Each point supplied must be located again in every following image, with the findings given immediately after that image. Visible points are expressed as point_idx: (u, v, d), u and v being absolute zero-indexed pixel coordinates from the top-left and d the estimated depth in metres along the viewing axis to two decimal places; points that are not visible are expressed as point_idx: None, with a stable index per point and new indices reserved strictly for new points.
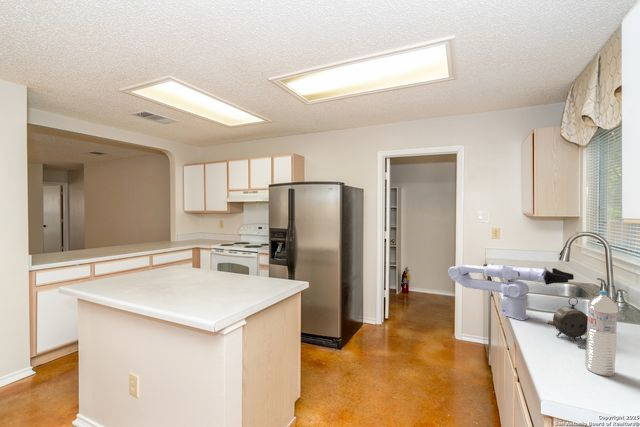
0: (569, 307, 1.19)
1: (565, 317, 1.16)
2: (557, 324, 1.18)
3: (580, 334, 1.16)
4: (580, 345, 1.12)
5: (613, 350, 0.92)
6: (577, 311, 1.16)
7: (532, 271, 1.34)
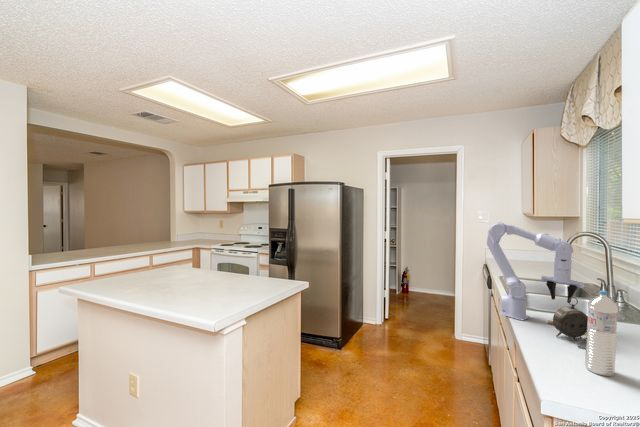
0: (569, 307, 1.19)
1: (565, 318, 1.16)
2: (557, 324, 1.18)
3: (580, 334, 1.16)
4: (580, 345, 1.12)
5: (613, 350, 0.92)
6: (577, 311, 1.16)
7: None
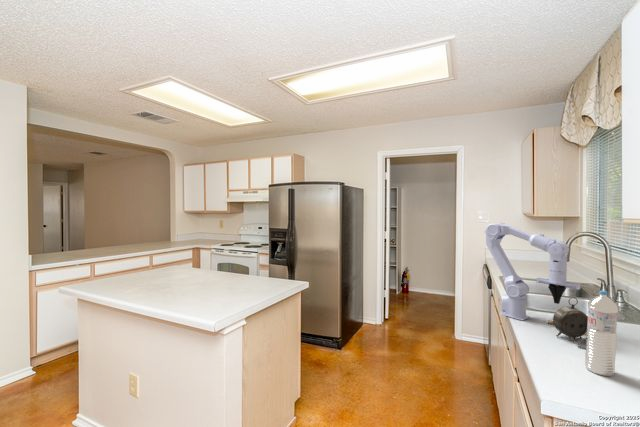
0: (569, 307, 1.19)
1: (565, 317, 1.16)
2: (557, 324, 1.18)
3: (580, 334, 1.16)
4: (580, 345, 1.12)
5: (613, 350, 0.92)
6: (577, 311, 1.16)
7: None
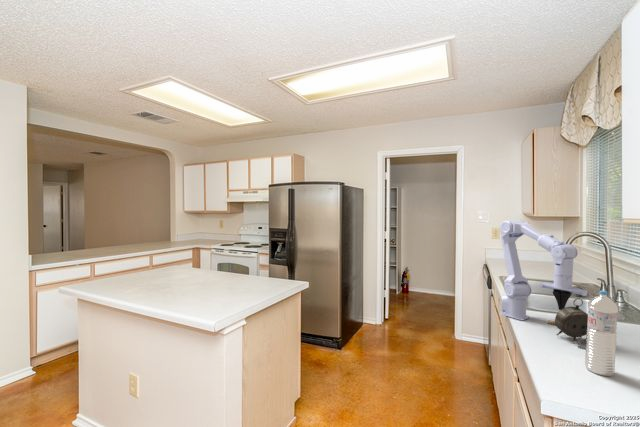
0: (573, 307, 1.18)
1: (568, 318, 1.15)
2: (559, 324, 1.18)
3: (581, 334, 1.16)
4: (580, 345, 1.12)
5: (613, 350, 0.92)
6: (581, 312, 1.15)
7: None
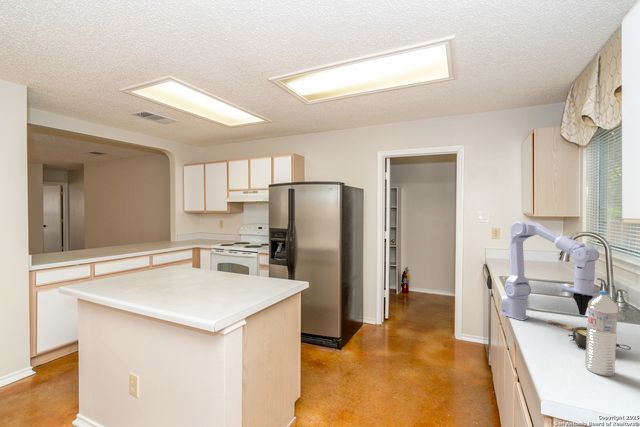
0: None
1: None
2: None
3: None
4: (580, 345, 1.12)
5: (613, 350, 0.92)
6: None
7: None
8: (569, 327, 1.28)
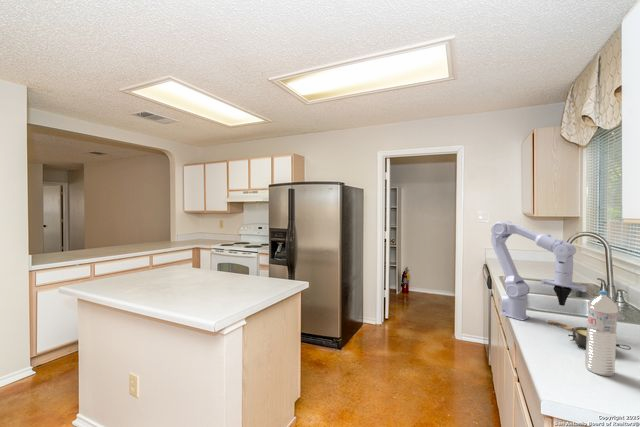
0: None
1: None
2: None
3: None
4: (580, 345, 1.12)
5: (613, 350, 0.92)
6: None
7: None
8: (569, 327, 1.28)
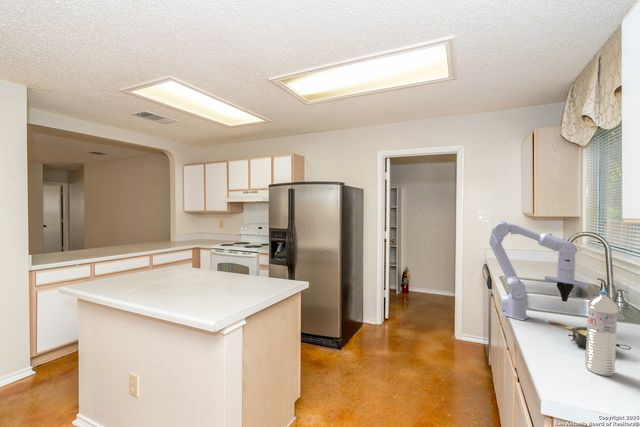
0: None
1: None
2: None
3: None
4: (580, 345, 1.12)
5: (613, 350, 0.92)
6: None
7: None
8: (569, 327, 1.28)
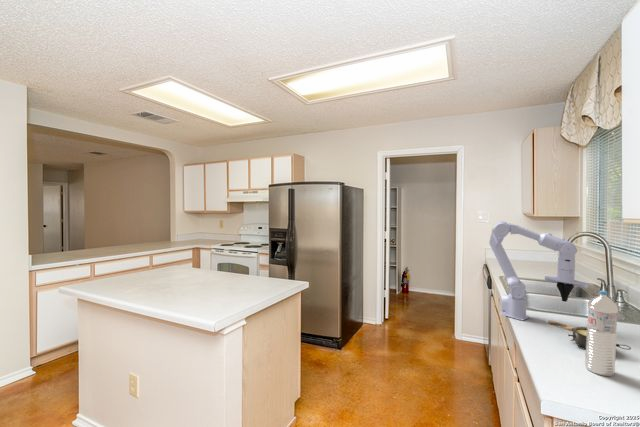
0: None
1: None
2: None
3: None
4: (580, 345, 1.12)
5: (613, 350, 0.92)
6: None
7: None
8: (569, 327, 1.28)
